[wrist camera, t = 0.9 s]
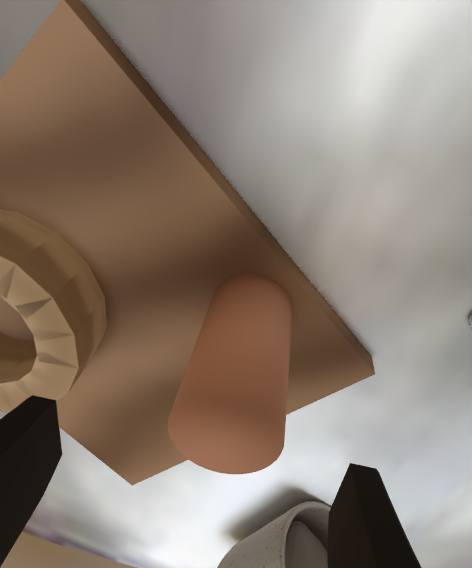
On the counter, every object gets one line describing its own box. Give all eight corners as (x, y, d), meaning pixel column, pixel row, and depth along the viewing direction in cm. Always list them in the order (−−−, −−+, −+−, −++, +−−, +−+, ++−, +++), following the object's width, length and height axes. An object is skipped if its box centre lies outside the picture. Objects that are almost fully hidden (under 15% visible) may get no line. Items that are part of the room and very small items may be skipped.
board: (371, 357, 21) (375, 373, 20) (138, 468, 28) (132, 485, 27) (79, 0, 15) (62, -2, 14) (-121, 255, 22) (-142, 265, 21)
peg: (309, 318, 19) (308, 450, 13) (245, 353, 21) (219, 486, 15) (258, 258, 18) (231, 373, 12) (195, 300, 19) (144, 420, 13)
